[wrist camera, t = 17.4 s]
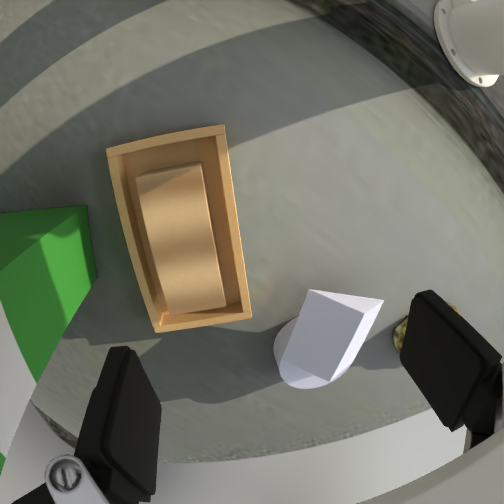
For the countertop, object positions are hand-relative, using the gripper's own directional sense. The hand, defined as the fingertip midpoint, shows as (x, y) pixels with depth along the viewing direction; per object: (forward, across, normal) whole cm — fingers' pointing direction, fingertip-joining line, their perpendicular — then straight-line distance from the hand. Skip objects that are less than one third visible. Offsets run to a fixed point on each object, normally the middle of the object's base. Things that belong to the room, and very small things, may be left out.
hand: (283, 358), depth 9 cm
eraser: (+19, +5, +2) cm, 19 cm away
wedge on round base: (+19, -7, +15) cm, 26 cm away
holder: (+19, +5, +2) cm, 20 cm away
